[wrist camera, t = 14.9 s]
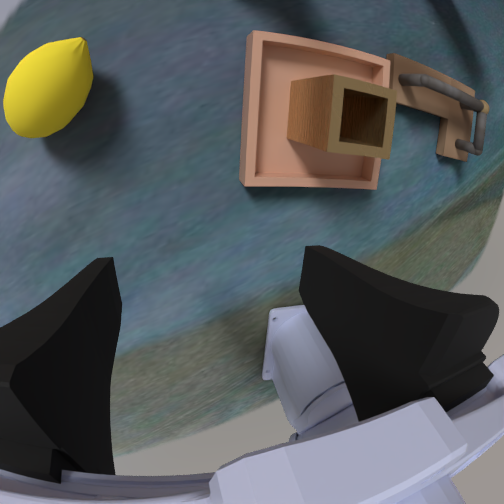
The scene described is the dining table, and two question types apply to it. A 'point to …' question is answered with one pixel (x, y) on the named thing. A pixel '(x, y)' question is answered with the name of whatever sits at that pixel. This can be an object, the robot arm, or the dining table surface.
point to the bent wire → (441, 105)
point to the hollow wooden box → (342, 115)
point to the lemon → (48, 88)
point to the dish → (277, 108)
